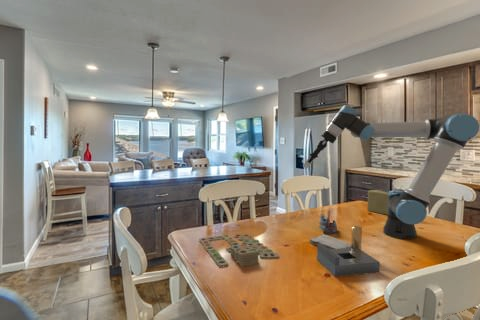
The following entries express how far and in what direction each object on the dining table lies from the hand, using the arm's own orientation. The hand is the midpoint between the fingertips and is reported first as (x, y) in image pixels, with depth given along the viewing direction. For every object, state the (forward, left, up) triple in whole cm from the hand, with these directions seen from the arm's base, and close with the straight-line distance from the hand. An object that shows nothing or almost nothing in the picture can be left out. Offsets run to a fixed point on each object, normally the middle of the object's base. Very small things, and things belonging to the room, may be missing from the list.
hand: (305, 166), depth 140 cm
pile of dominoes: (+40, +14, -37) cm, 56 cm away
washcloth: (-5, +19, -37) cm, 42 cm away
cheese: (-70, -26, -36) cm, 82 cm away
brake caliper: (-14, -1, -36) cm, 39 cm away
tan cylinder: (-10, +30, -36) cm, 48 cm away
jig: (0, +39, -36) cm, 53 cm away
